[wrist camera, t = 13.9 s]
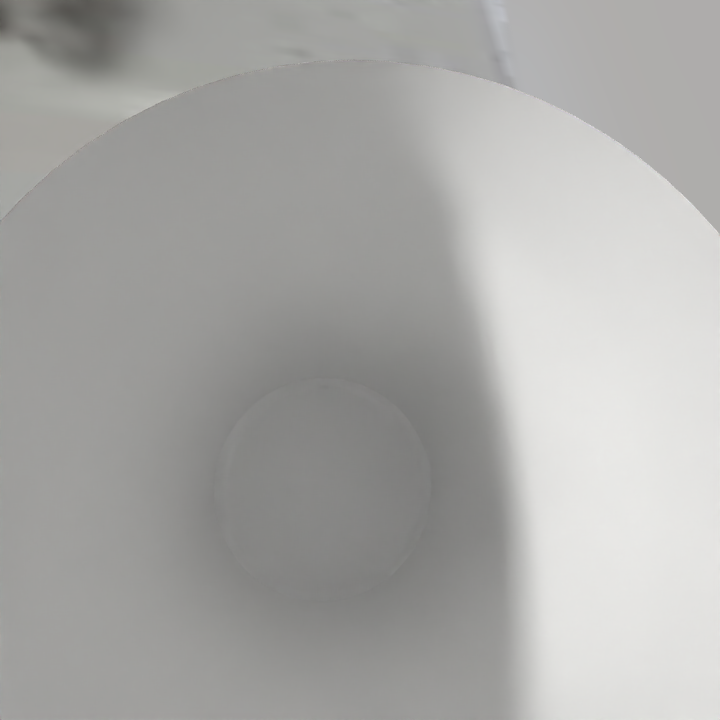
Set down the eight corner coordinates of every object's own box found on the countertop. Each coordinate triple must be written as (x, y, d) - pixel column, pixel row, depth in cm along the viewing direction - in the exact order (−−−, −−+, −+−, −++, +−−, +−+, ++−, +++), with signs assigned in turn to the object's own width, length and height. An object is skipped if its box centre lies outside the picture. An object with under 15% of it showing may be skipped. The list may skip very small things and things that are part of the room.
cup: (168, 355, 17) (-107, 42, 5) (442, 333, 18) (713, 47, 6) (179, 670, 15) (-240, 1342, 3) (489, 617, 16) (1010, 942, 4)
